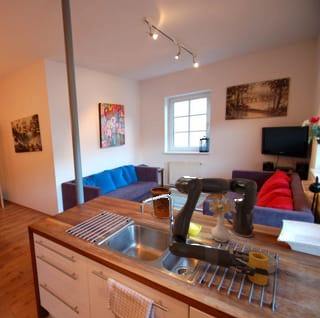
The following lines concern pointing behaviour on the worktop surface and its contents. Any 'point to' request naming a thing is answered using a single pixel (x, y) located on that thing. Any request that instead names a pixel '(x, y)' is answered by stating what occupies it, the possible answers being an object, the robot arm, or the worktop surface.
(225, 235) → the flower vase
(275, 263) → the bowl
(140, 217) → the worktop surface
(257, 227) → the worktop surface
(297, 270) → the worktop surface
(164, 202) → the vessel
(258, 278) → the yellow hollow cylinder
